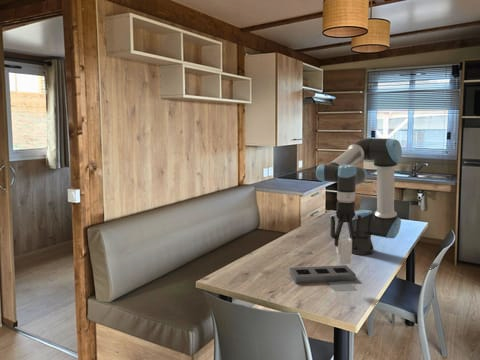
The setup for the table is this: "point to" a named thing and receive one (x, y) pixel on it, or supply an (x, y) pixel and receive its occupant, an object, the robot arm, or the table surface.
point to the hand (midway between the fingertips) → (343, 252)
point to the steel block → (344, 252)
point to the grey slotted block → (322, 274)
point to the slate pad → (342, 286)
